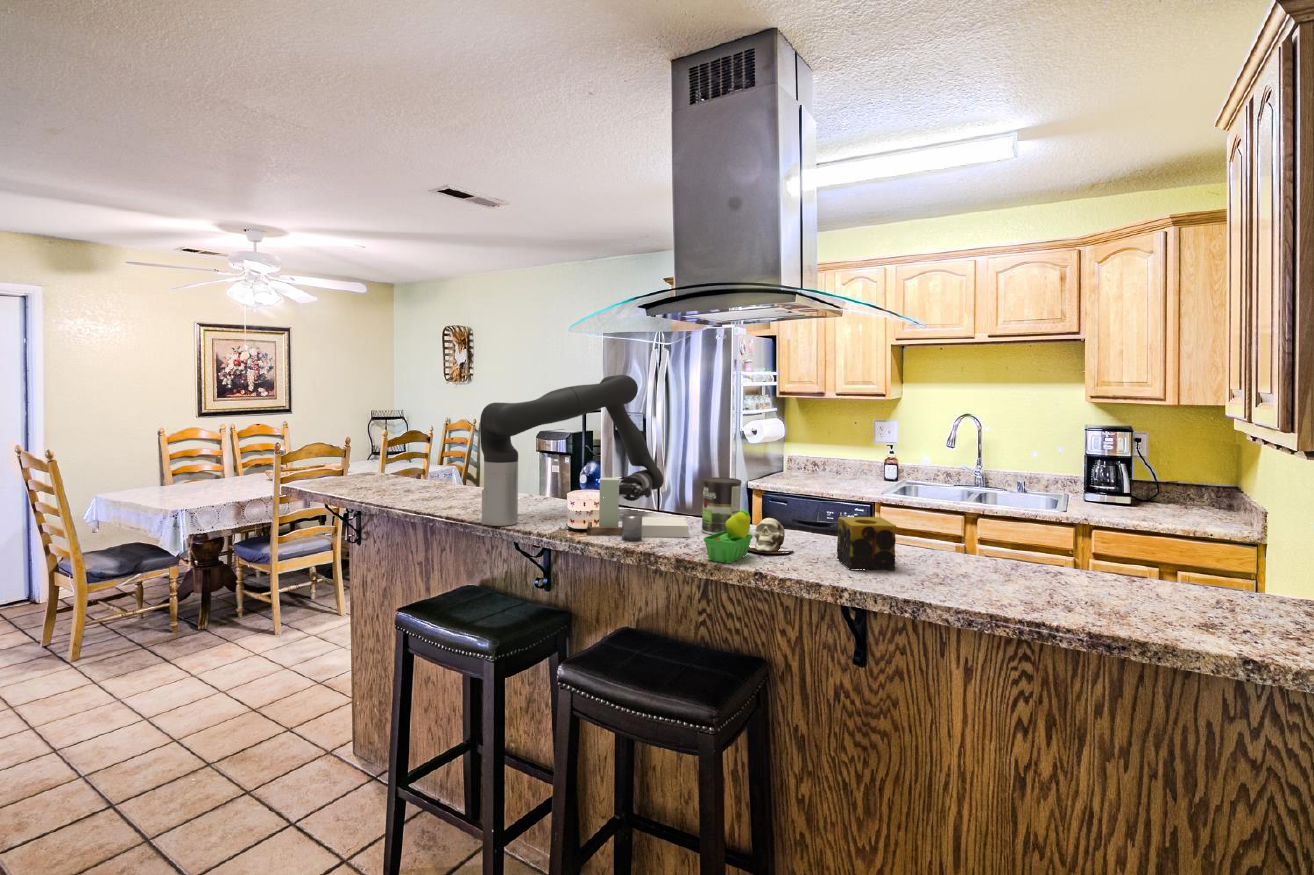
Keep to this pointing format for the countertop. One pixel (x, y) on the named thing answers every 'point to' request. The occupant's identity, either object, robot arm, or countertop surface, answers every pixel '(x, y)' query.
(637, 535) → the grey cylinder
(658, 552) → the countertop surface
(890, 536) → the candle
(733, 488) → the coffee can
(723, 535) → the fruit basket
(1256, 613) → the countertop surface
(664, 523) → the white platform
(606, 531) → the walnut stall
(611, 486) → the sage block
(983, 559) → the countertop surface
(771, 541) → the skull
